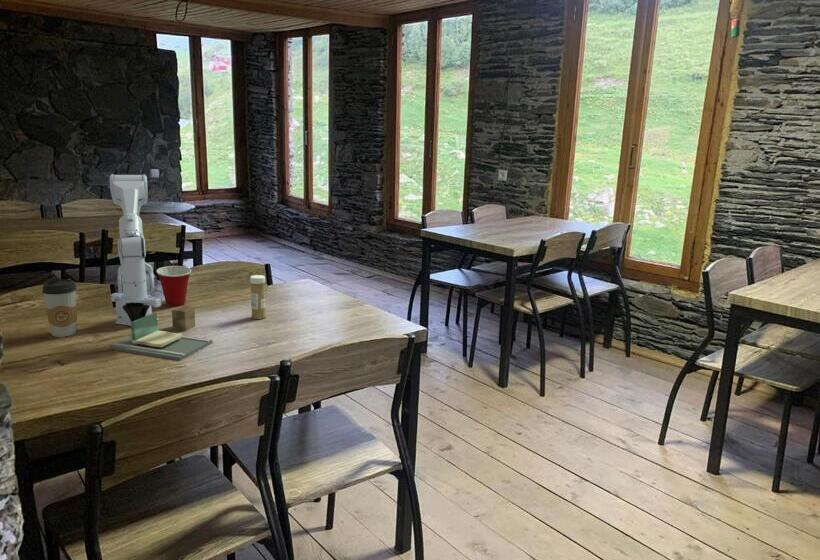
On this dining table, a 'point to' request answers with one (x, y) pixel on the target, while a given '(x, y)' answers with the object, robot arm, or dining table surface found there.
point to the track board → (164, 347)
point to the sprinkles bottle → (258, 296)
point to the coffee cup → (61, 306)
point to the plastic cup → (174, 284)
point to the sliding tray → (151, 332)
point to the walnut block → (183, 318)
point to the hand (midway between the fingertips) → (138, 328)
